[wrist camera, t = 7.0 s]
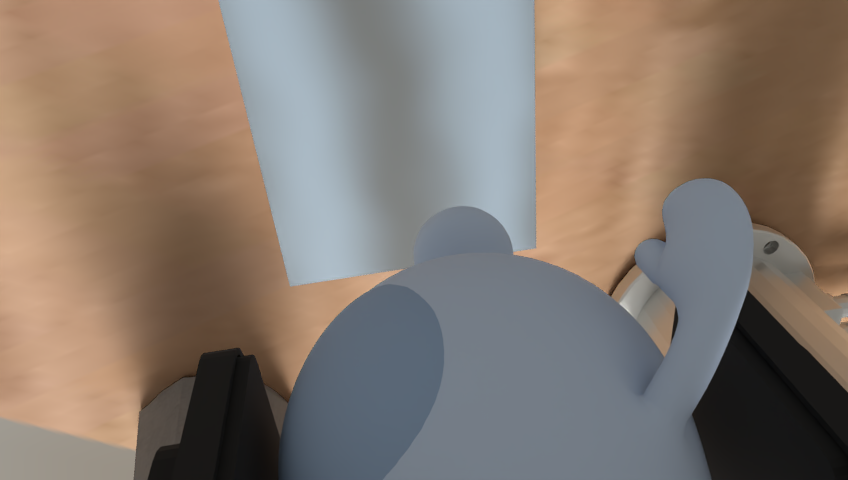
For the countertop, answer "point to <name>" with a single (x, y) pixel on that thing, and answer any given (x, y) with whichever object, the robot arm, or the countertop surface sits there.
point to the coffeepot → (177, 421)
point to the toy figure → (522, 359)
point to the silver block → (386, 122)
